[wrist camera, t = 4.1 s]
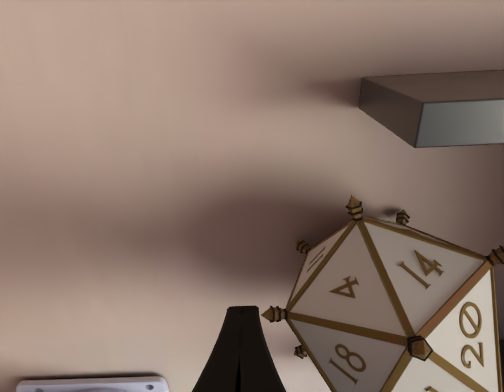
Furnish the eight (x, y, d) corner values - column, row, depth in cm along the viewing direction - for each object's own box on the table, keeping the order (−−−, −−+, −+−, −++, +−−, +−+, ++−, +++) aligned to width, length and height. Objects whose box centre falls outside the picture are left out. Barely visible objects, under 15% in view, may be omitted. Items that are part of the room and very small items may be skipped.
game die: (315, 191, 19) (313, 133, 9) (475, 241, 17) (691, 236, 7) (265, 340, 18) (202, 452, 8) (423, 412, 16) (584, 668, 6)
